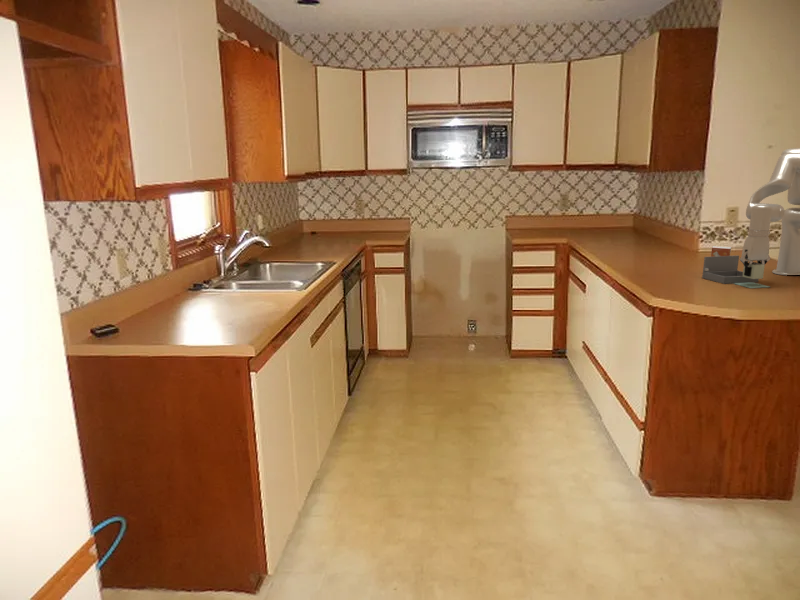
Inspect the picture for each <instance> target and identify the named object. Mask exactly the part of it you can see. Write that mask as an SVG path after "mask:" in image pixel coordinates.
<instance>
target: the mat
mask: <svg viewBox="0 0 800 600" xmlns="http://www.w3.org/2000/svg"><path fill="white" fill-rule="evenodd" d="M732 284H733V285H736V286H739V287H744V288H748V289H766V288H768V289H769V288H771V286H769V285H765V284H761V283H759V282H747V283H732Z"/></svg>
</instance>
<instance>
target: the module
mask: <svg viewBox="0 0 800 600" xmlns="http://www.w3.org/2000/svg"><path fill="white" fill-rule="evenodd" d="M765 266H766V264H765V265H763V264H760V263H757V261H756V262H755V261H753V262H752V265H751V267H752V270H751V276H745V275H744V271H745V266H744V265H743V269H742V272H743V277H747V278H751V279H759V280H760V279H761V280H762V279H763V278H764V273H765Z"/></svg>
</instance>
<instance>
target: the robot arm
mask: <svg viewBox="0 0 800 600" xmlns="http://www.w3.org/2000/svg"><path fill="white" fill-rule="evenodd" d="M786 191H787V203H789V204H790V205H793V206H800V147H793V148H792V147H791V148H786V149H784V150H782V152H781V154H780V156H779V157H778V159H777V161H776V163H775V165H774V168H773V172H772V174H771V176H770V179H769V181H768V182H767V183H765V184H764V185H762V186H761V187H759V188H758V189H757V190H756V191H755V192H753V193H752V194H751V196H750V199H749V201H748V204H747V205H746V209H745V216H746V218H747V219H748V220H749V225H748V227H749V228H748V234H747V235H748V236H746V238H745V240H744V242H743V246H742V252H741V257H739V261H740V262H741V263H742V264H743V267H744V266H745V271H744V275H745V276H751V270H752V267H751V265H752V262H755V261H756V263H760V264H763V265H765V266H766V264H767V263H768V262H769V261H770V260H771V257H770V255H769V253H770V237H769V235H770V234H771V231H770V229H771V222H772V223H774V222H779V221H780V220H781V236H780V242H779V250H778V257H777V263H776V268H775V269H773V270H772V271H771V272H772V273H773V274H775V275H779V276H780V275H781V276H787V275H800V207H788V208H786V209H785V208H784V206H782V205H781V204H778V203H764V202H763V203H762V201H763V200H765V199H767V198H768V197H770V196H773V195H777V194H780V193H783V192H786Z"/></svg>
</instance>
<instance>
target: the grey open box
mask: <svg viewBox="0 0 800 600" xmlns="http://www.w3.org/2000/svg"><path fill="white" fill-rule="evenodd" d="M703 260H704V261H703V267H702V268H703V269H702V277H701V279H704V280H708V281H712V282H716V283H720V284H723V285H729V284H733V283H747V282H754V283H759V281H760V279H751V278H747V277H743V270H742V271H741V270H738V269H739V268H738V267H739V261H740V255H738V254H737V255H730V256H713V257H711V256H704V259H703Z"/></svg>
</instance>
